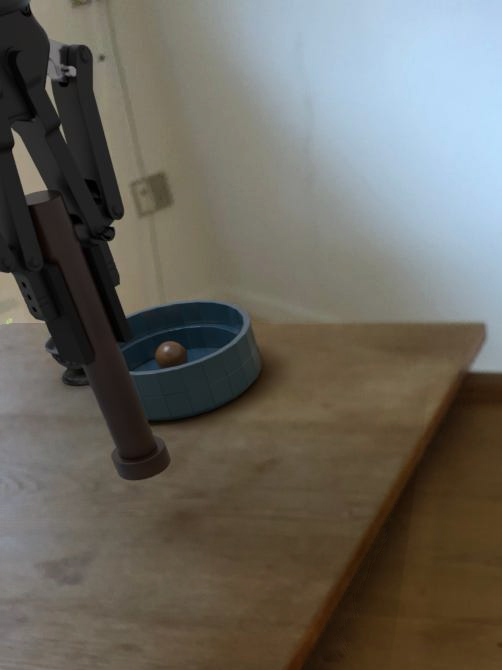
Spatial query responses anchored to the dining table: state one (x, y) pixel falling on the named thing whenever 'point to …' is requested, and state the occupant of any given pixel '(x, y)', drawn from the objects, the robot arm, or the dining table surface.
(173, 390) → the bowl
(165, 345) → the brown ball
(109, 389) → the brown pestle
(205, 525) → the dining table surface
